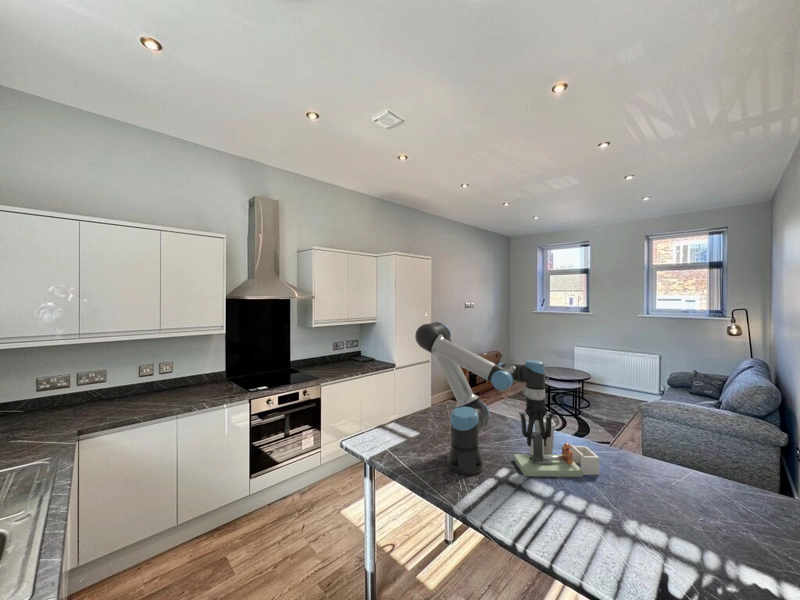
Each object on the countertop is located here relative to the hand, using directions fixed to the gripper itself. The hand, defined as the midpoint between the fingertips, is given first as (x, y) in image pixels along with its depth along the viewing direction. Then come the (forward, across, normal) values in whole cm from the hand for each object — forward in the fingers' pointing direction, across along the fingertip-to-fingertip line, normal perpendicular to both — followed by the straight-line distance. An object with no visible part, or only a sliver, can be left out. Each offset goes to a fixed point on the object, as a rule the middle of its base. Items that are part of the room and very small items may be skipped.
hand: (536, 453), depth 132 cm
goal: (+6, +19, 0) cm, 20 cm away
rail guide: (+4, +2, 0) cm, 4 cm away
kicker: (+3, +6, 0) cm, 7 cm away
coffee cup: (+6, +9, +14) cm, 18 cm away
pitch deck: (+6, +4, 0) cm, 7 cm away
